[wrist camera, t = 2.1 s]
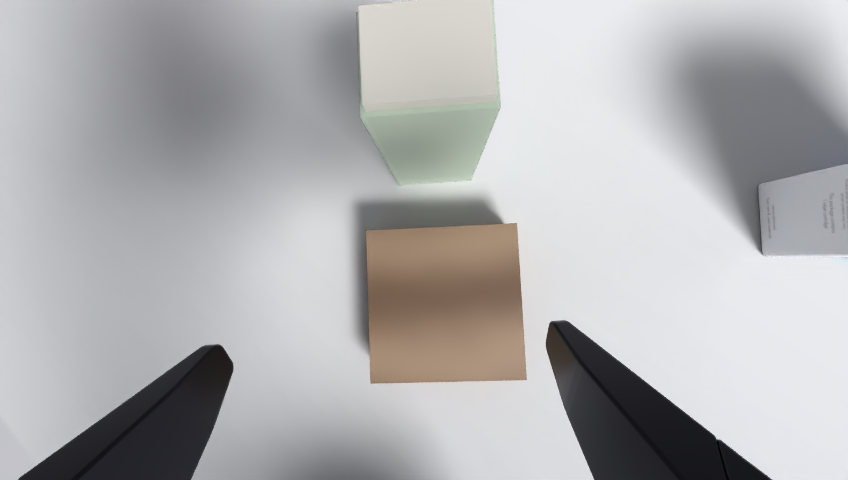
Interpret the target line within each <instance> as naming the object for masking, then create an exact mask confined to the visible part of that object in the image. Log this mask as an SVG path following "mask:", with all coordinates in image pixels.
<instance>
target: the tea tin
mask: <svg viewBox="0 0 848 480" xmlns="http://www.w3.org/2000/svg"><path fill="white" fill-rule="evenodd" d="M356 15H357V42H358V68H359V94H360V118H361V120H362V122H363V123H364V125H365V127H366V129H367V130H368V132H369V134H370V136H371V137H372V139H373V141H374V143H375V144H376V146H377V148H378V150H379V151H380V153H381V155H382V157H383V158H384V160H385V162H386V164H387V165H388V167H389V169H390V171H391V172H392V174H393V176H394V178H395V179H396V181H397V183H398V185H406V184H422V183H438V182H454V181H470V180H471V179H472V177H473V175H474V172H475V170H476V167H477V165H478V162H479V160H480V157H481V155H482V152H483V150H484V147H485V145H486V142H487V140H488V137H489V135H490V132H491V130H492V127H493V125H494V122H495V120H496V117H497V115H498V112H499V110H500V108H501V107H500V92H499V77H498V62H497V47H496V33H495V18H494V3H493V0H412V1H402V2H391V3H381V4H370V5H359V6H358V12H356Z"/></svg>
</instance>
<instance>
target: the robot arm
mask: <svg viewBox="0 0 848 480" xmlns="http://www.w3.org/2000/svg"><path fill="white" fill-rule="evenodd" d="M546 349H547V353H548V356H549V359H550V363H551V366H552V369H553V373H554V376H555V379H556V383H557V386H558V389H559V392H560V396H561V399H562V402H563V405H564V408H565V411H566V413H567V416H568V418H569V421H570V423H571V425H572V428H573V430H574V432H575V435H576V437H577V440H578V442H579V444H580V447H581V449H582V452H583V454H584V456H585V459H586V461H587V463H588V466H589V468H590V471H591V473H592V475H593V478H594V480H772V479H771V478H769V477H768V476H767V475H765V474H764V473H763V472H761V471H760V470H759V469H757V468H756V467H755V466H753V465H752V464H751V463H750V462H748V461H747V460H746V459H744V458H743V457H742V456H740V455H739V454H738V453H736V452H735V451H734V450H733V449H731V448H730V447H729V446H727V445H726V444H725V443H724V442H722V441H721V440H718V439H716V437H715V436H714V435H713V434H712V433H711V432H709V431H708V430H707V429H705V428H704V427H703V426H702V425H700V424H699V423H698V422H696V421H695V420H694V419H693V418H691V417H690V416H689V415H688V414H686V413H685V412H684V411H682V410H681V409H680V408H679V407H677V406H676V405H675V404H673V403H672V402H671V401H670V400H668V399H667V398H666V397H664V396H663V395H662V394H661V393H659V392H658V391H657V390H655V389H654V388H653V387H652V386H650V385H649V384H648V383H646V382H645V381H644V380H643V379H641V378H640V377H639V376H637V375H636V374H635V373H634V372H632V371H631V370H630V369H629V368H627V367H626V366H625V365H623V364H622V363H621V362H620V361H618V360H617V359H616V358H614V357H613V356H612V355H611V354H609V353H608V352H607V351H605V350H604V349H603V348H602V347H600V346H599V345H598V344H596V343H595V342H594V341H593V340H591V339H590V338H589V337H587V336H586V335H585V334H584V333H582V332H581V331H580V330H578V329H577V328H576V327H575V326H573V325H572V324H571V323H569V322H568V321H565V320H561V321H552V322H550V324H549V328H548V333H547V339H546ZM232 373H233V362H232V361H231V359H230V357H229V356H228V354H227V353H226V351H225V349H224V348H223V347H222V346H221V345H219V344H215V345H205V346H202V347H201V348H199V349H198V350H196V351H195V352H194V353H192V354H191V355H189V356H188V357H187V358H185V359H184V360H182V361H181V362H180V363H178V364H177V365H176V366H174V367H173V368H171V369H170V370H169V371H167V372H166V373H164V374H163V375H162V376H160V377H159V378H157V379H156V380H155V381H153V382H152V383H151V384H149V385H148V386H146V387H145V388H144V389H142V390H141V391H139V392H138V393H137V394H135V395H134V396H132V397H131V398H130V399H128V400H127V401H126V402H124V403H123V404H121V405H120V406H119V407H117V408H116V409H114V410H113V411H112V412H110V413H109V414H107V415H106V416H105V417H103V418H102V419H101V420H99V421H98V422H96V423H95V424H94V425H92V426H91V427H89V428H88V429H87V430H85V431H84V432H82V433H81V434H80V435H78V436H77V437H76V438H74V439H73V440H71V441H70V442H69V443H67V444H66V445H64V446H63V447H62V448H60V449H59V450H57V451H56V452H55V453H53V454H52V455H51V456H49V457H48V458H46V459H45V460H44V461H42V462H41V463H39V464H38V465H37V466H35V467H34V468H33V469H31V470H30V471H28V472H27V473H26V474H24V475H23V476H21V477H20V478H19V479H18V480H191V478H192V476H193V474H194V471H195V469H196V467H197V465H198V462H199V460H200V458H201V456H202V453H203V451H204V449H205V447H206V444H207V442H208V440H209V438H210V435H211V433H212V430H213V428H214V425H215V422H216V420H217V417H218V414H219V411H220V408H221V405H222V402H223V399H224V396H225V393H226V390H227V387H228V385H229V382H230V379H231V376H232Z"/></svg>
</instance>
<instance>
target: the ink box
mask: <svg viewBox="0 0 848 480" xmlns="http://www.w3.org/2000/svg"><path fill="white" fill-rule="evenodd" d="M758 191H759V208H760V223H761V240H762V253H763V254H764V255H765V256H767V257H788V258H845V259H848V163H847V164H843V165H839V166H835V167H831V168H826V169H822V170H817V171H813V172H808V173H804V174H800V175H796V176H791V177H787V178H783V179H778V180H775V181H770V182H765V183H761V184H760V185H759V187H758Z"/></svg>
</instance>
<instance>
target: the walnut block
mask: <svg viewBox="0 0 848 480" xmlns="http://www.w3.org/2000/svg"><path fill="white" fill-rule="evenodd" d="M366 246H367V280H368V313H369V346H370V380H371V383H413V382H458V381H502V380H527V377H526V361H525V345H524V329H523V313H522V297H521V281H520V265H519V249H518V233H517V223H511V224H490V225H469V226H448V227H427V228H405V229H384V230H366Z"/></svg>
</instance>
